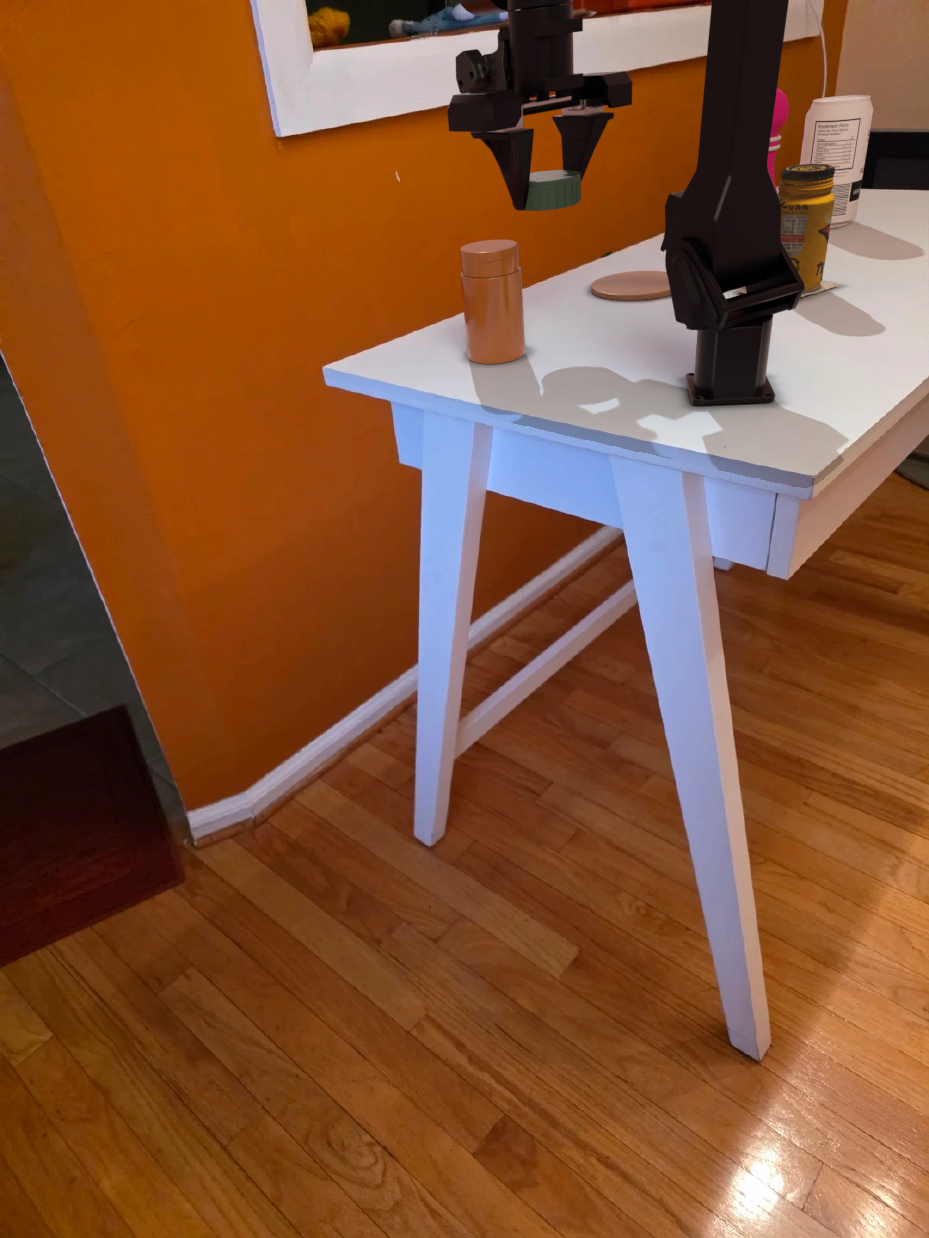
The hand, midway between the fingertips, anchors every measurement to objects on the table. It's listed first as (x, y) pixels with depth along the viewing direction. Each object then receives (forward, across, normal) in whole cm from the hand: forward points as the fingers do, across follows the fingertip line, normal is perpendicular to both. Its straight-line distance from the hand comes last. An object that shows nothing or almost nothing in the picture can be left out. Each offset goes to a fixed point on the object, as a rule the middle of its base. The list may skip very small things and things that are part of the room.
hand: (546, 203), depth 81 cm
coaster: (+12, -17, -3) cm, 21 cm away
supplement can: (+12, -56, -3) cm, 57 cm away
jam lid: (-2, 0, 0) cm, 2 cm away
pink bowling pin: (+12, -34, 0) cm, 36 cm away
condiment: (+12, -24, +12) cm, 30 cm away
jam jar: (+12, +9, +2) cm, 15 cm away
